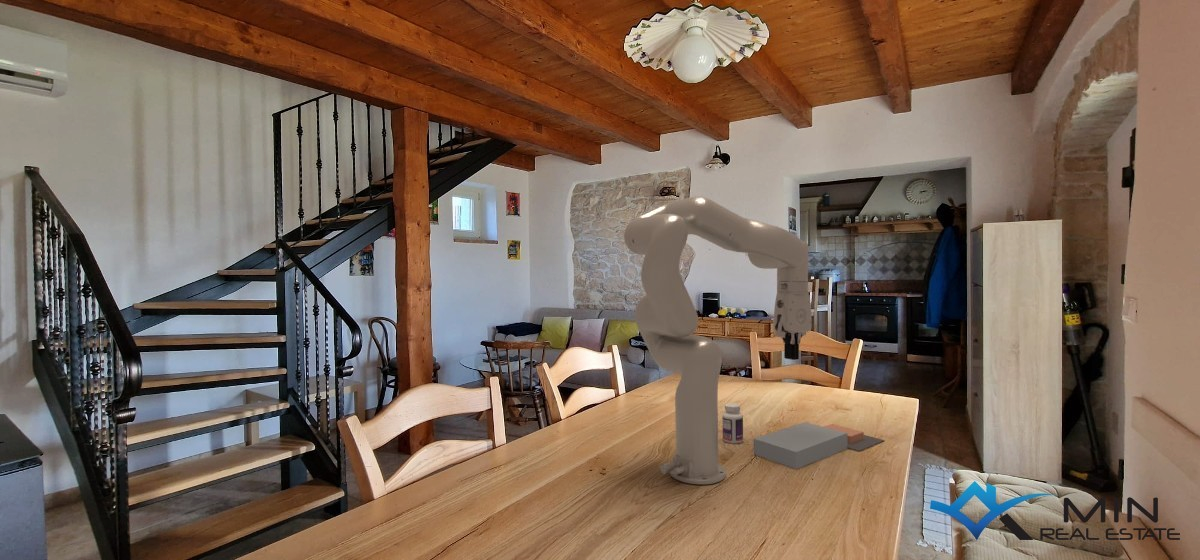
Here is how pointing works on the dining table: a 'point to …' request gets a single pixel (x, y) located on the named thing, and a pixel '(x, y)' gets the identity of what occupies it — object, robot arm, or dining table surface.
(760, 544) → the dining table surface
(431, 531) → the dining table surface
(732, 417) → the pill bottle
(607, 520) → the dining table surface
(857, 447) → the mat
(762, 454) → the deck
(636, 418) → the dining table surface
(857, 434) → the tile
